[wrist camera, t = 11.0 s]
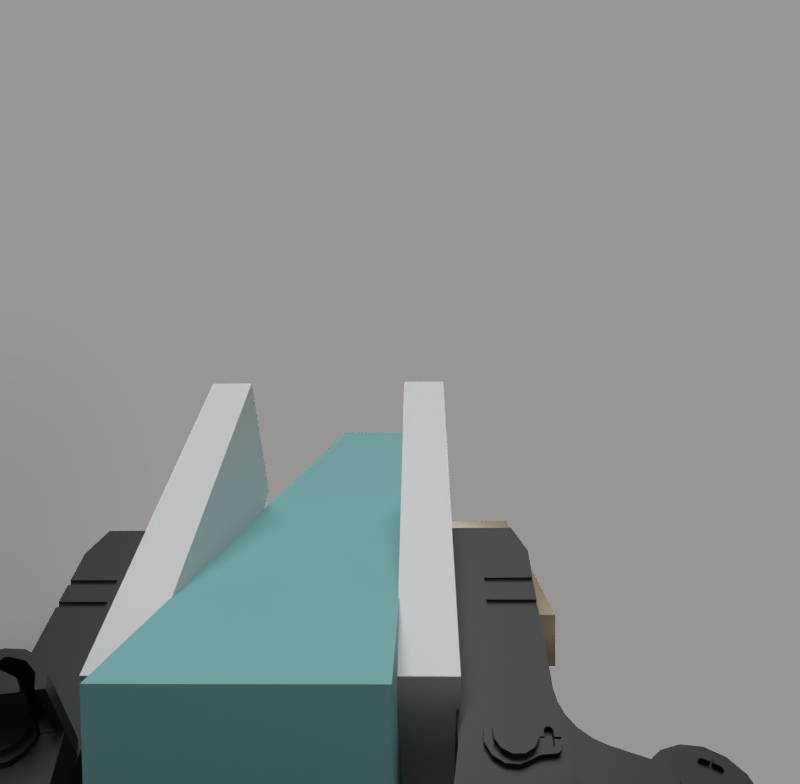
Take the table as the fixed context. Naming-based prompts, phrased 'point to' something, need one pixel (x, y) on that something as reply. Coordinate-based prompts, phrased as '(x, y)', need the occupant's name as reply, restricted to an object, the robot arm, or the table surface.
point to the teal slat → (270, 646)
